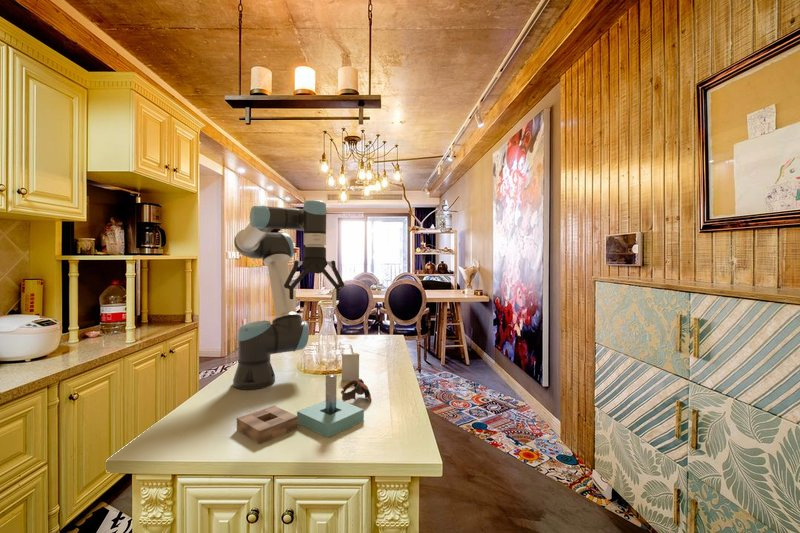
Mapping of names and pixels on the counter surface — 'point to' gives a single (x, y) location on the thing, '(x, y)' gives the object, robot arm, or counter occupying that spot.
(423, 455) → the counter surface
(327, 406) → the pin
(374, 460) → the counter surface
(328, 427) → the dock socket
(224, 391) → the counter surface
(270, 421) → the pin mount
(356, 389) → the brown ring with knob
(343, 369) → the white box
